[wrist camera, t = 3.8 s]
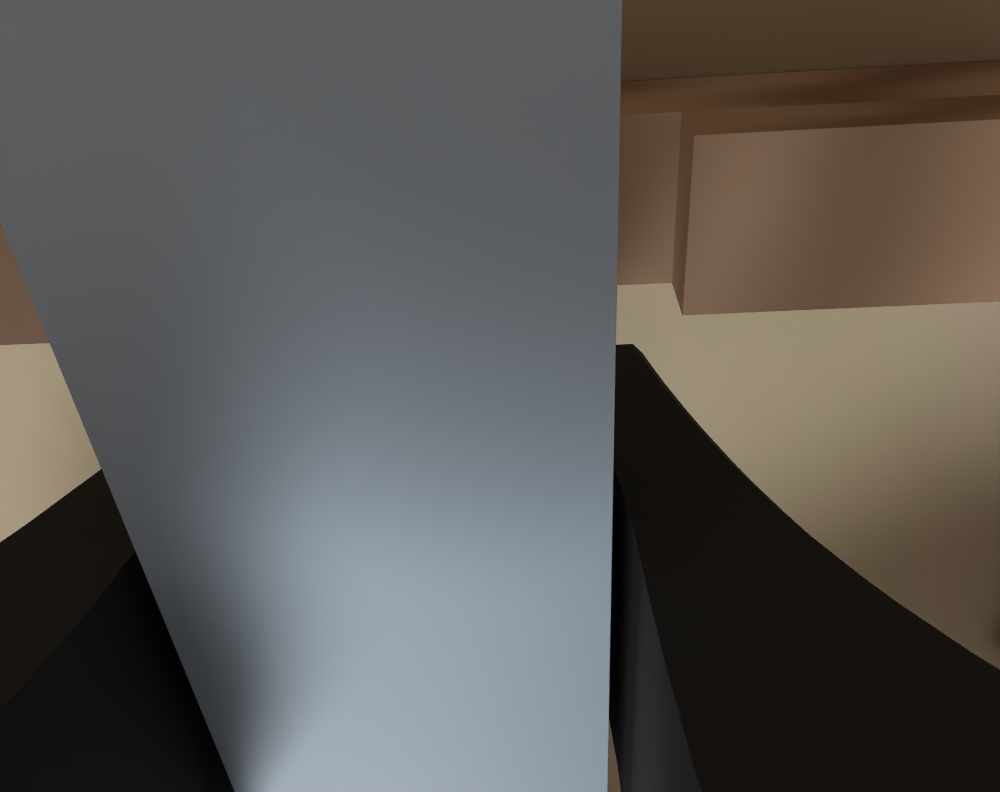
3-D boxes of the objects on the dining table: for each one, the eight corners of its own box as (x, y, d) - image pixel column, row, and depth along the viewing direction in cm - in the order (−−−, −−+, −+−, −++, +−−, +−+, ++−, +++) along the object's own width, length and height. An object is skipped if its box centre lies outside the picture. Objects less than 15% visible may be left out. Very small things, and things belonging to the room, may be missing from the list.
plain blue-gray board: (559, -202, 8) (626, -172, 3) (574, 642, 15) (602, 1058, 10) (243, -180, 8) (-139, -117, 3) (399, 647, 15) (345, 1060, 10)
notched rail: (1040, 58, 15) (1149, 112, 13) (996, 220, 17) (1085, 297, 14) (-75, 120, 16) (-191, 182, 14) (-13, 268, 18) (-105, 349, 15)
